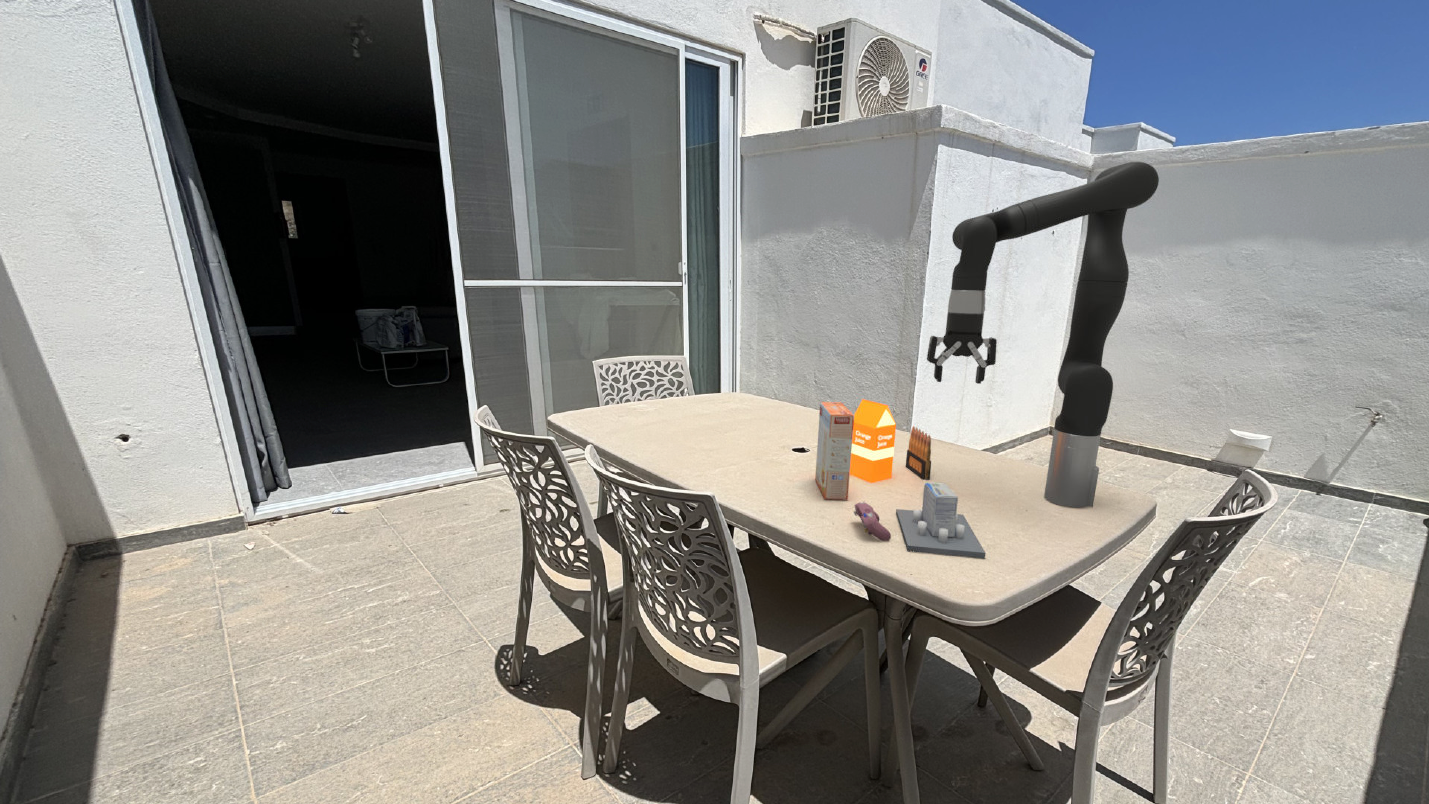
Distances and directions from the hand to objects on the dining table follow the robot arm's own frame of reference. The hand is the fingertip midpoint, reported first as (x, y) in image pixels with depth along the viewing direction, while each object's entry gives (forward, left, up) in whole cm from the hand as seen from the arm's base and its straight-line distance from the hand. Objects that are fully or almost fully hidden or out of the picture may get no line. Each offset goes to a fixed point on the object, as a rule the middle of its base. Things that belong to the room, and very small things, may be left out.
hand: (958, 382), depth 131 cm
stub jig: (+6, +22, -28) cm, 36 cm away
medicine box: (+6, +22, -27) cm, 35 cm away
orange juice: (+17, -12, -28) cm, 35 cm away
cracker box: (+27, +1, -28) cm, 39 cm away
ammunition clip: (+4, -17, -28) cm, 33 cm away
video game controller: (+19, +23, -28) cm, 41 cm away
